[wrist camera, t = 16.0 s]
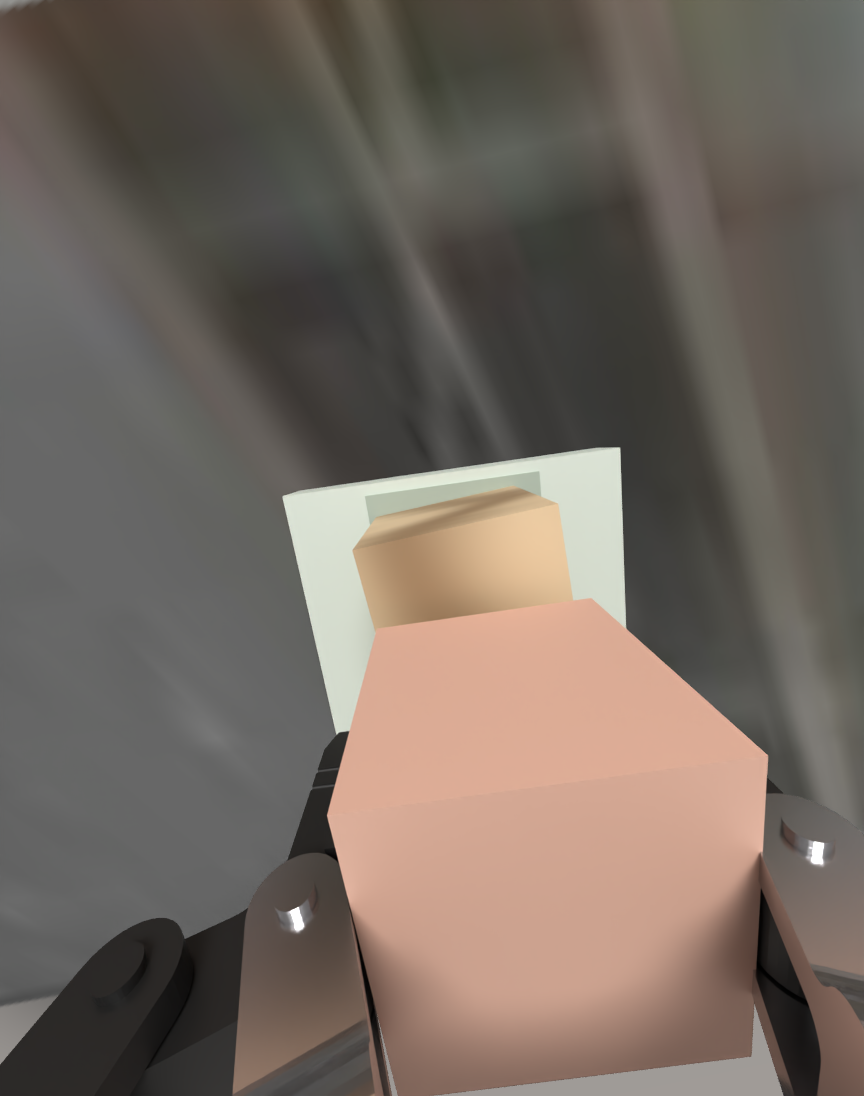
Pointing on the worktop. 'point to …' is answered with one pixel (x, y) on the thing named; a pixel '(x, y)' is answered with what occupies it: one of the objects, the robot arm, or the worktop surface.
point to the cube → (547, 853)
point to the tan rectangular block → (464, 558)
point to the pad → (348, 510)
